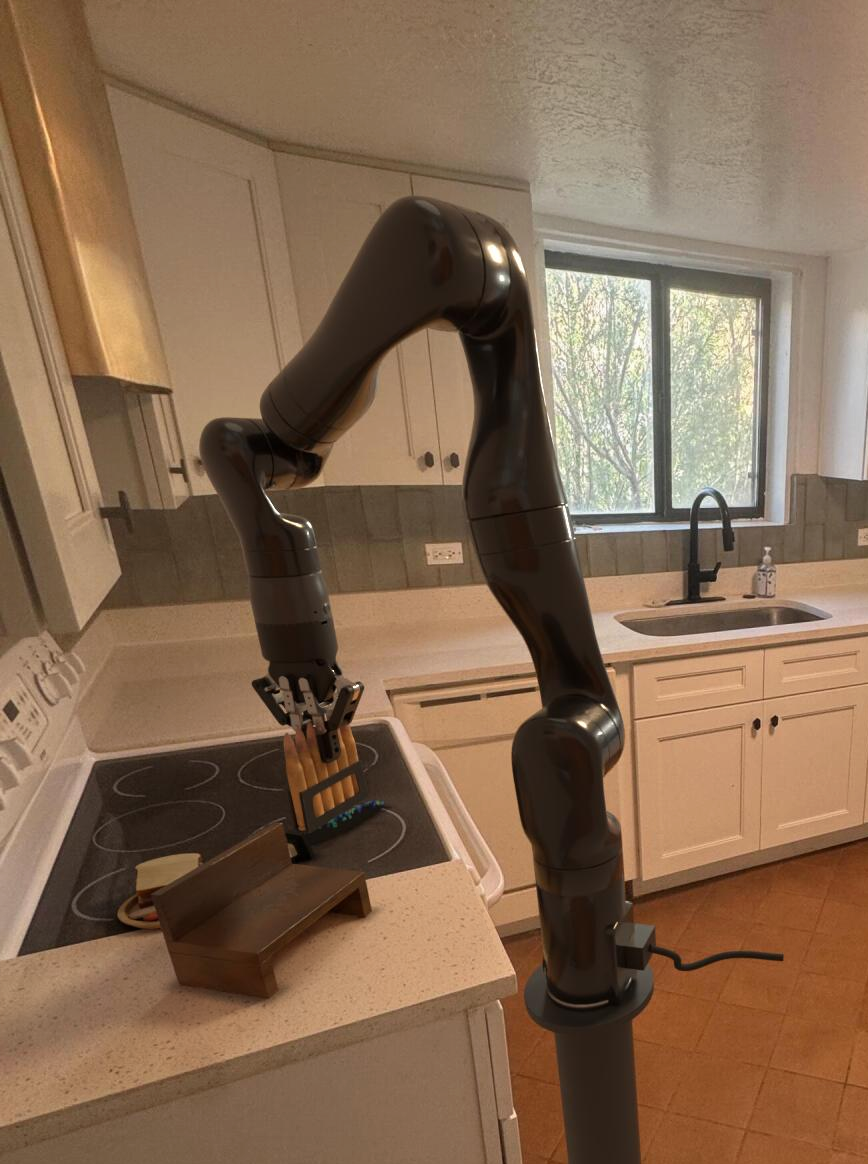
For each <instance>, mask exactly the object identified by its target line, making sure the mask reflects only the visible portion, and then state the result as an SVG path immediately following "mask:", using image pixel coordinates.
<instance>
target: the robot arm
mask: <svg viewBox="0 0 868 1164" xmlns="http://www.w3.org/2000/svg"><path fill="white" fill-rule="evenodd" d="M533 313H534V312H533V306H532V298H531V291H530V286H529V280H528V275H527V271H526V267H525V264H524V260H523V257H522V254H521V252H520V249H519V246H518V245H517V243H516V241H515V239H514V238H513V236H512V235H511V233H510V232H509V231H508V230H507V228H506V227H505V226H504V225H503V224H502V223H501V222H499V221H497V220H496V219H495V218H493V217H492V216H489V215H487V214H484V213H481V212H479V211H477V210H473V209H470V208H467V207H464V206H461V205H458V204H455V203H451V202H448V201H444V200H441V199H438V198H435V197H430V196H423V195H414V194H412V195H406V196H402V197H399V198H398V199H396V200H395V201H393V202H392V203H391V204H390V205H388V207H386V208H385V209H384V211H383V212H382V213H381V215H380V216H379V217H378V219H377V220H376V221H375V222H374V224H373V226H372V228H371V229H370V231H369V232H368V234H367V236H366V238H365V239H364V241H363V242H362V245H361V247H360V249H359V250H358V252H357V254H356V256H355V258H354V259H353V262H352V264H351V266H350V268H349V270H348V271H347V273H346V275H345V277H344V278H343V280H342V282H341V283H340V285H339V287H338V289H337V291H336V293H335V294H334V297H333V298H332V300H331V302H330V304H329V306H328V308H327V309H326V311H325V314H324V315H323V317H322V319H321V321H320V322H319V324H318V326H317V327H316V328H315V330H314V331H313V333H312V335H311V336H310V337H309V338H308V340H307V341H306V343H305V344H304V345H303V346H302V347H301V348H300V349H299V351H298V352H297V353H296V354H295V355H294V356H293V357H292V358H291V359H290V361H288V363H286V364H285V366H284V367H283V368H282V370H280V372H278V374H277V375H276V376H274V378H273V379H272V380H271V381H270V382H269V383H268V384H267V386H266V387H265V389H264V390H263V392H262V394H261V396H260V399H259V412H260V416H261V418H252V417H230V416H228V417H227V416H226V417H216V418H213V419H212V420H209V422H207V423H206V424H205V425H204V427H203V429H202V431H201V433H200V437H199V444H198V449H199V450H198V452H199V458H200V461H201V465H202V467H203V469H204V472H205V474H206V476H207V478H208V480H209V481H210V483H211V485H212V488H213V490H214V491H215V493H216V495H217V496H218V498H219V500H220V501H221V504H222V506H223V508H224V509H225V512H226V514H227V516H228V518H229V520H230V521H231V524H232V526H233V528H234V529H235V532H236V534H237V537H238V538H239V542H240V548H241V551H242V557H243V561H244V566H245V570H246V574H247V581H248V583H247V584H248V596H249V603H250V607H251V611H252V614H253V619H254V625H255V629H256V634H257V639H258V643H259V648H260V651H261V656H262V658H263V659H264V660H266V662H269V664H268V667H267V674H265V675H263V676H262V677H259V678H256V679H253V680H252V681H251V687H252V688H253V690H254V691H255V692H256V694H257V695H258V696H259V698H260V699H261V701H262V702H263V703H264V705H265V706H266V708H267V709H268V710H269V712H270V713H271V714H272V716H273V718H274V719H275V720H276V721H277V723H278V724H279V725H280V726H284V727H285V726H289V727H291V729H292V730H293V731H294V732H295V733H296V729H297V728H298V727H299V728H300V729H301V730H302V732H303V734H304V736H305V738H306V741H307V725H308V723H311V724H312V725H313V727H314V729H315V731H316V733H317V734H316V737H317V742H318V747H319V752H320V757H321V761H322V762H323V763H331V762H333V761H335V760H337V759H338V758H339V755H341V747H340V742H339V737H338V729H339V728H341V727H343V726H345V725H348V724H352V722H353V720H354V717H355V714H356V711H357V709H358V706H359V704H360V701H361V698H362V696H363V694H364V691H365V684H364V683H363V682H361V681H359V680H358V681H355V682H353V681H352V680H350V679H348V678H347V677H345V676H343V670H342V668H341V666H340V665H339V663H338V660H337V654H338V652H339V644H338V639H337V633H336V628H335V623H334V616H333V612H332V611H333V610H332V605H331V600H330V595H329V591H328V587H327V584H326V582H325V579H324V575H323V571H322V566H321V560H320V555H319V550H318V544H317V539H316V535H315V531H314V527H313V525H312V524H311V521H309V520H308V519H307V518H305V517H303V516H300V515H295V514H289V513H283V512H278V510H277V509H276V508H275V507H274V505H273V504H272V502H271V500H270V499H269V496H268V495H267V493H266V492H276V491H277V492H278V491H294V490H295V491H296V490H299V489H300V490H301V489H303V488H305V487H307V486H309V485H311V484H312V483H314V482H315V481H316V480H317V479H319V477H320V476H321V475H322V472H323V471H324V468H325V466H326V464H327V462H328V460H329V457H330V455H331V453H332V449H333V447H334V444H335V443H336V442H337V441H339V439H340V438H341V439H342V437H343V436H345V434H347V433H348V431H350V430H351V429H352V428H353V427H354V426H355V425H356V424H357V423H358V422H359V421H360V420H361V419H362V418H363V417H364V416H365V414H367V412H368V411H369V409H370V408H371V406H372V404H373V402H374V400H375V398H376V395H377V392H378V387H379V381H380V371H381V365H382V363H383V361H384V359H386V357H387V355H388V354H389V353H391V352H392V350H394V349H395V348H396V347H397V346H399V345H400V344H401V343H403V342H405V341H406V340H408V339H409V338H411V337H413V336H414V335H416V334H418V333H420V332H421V331H424V330H427V329H431V330H434V331H438V332H447V333H453V334H454V333H455V334H458V336H459V340H460V343H461V346H462V349H463V353H464V357H465V360H466V364H467V369H468V374H469V377H470V382H471V387H472V393H473V394H472V396H473V421H472V427H471V433H470V437H469V443H468V448H467V452H466V457H465V462H464V467H463V473H462V474H463V475H462V481H461V504H462V509H463V514H464V519H465V521H466V527H467V530H468V534H469V538H470V541H471V545H472V549H473V553H474V555H475V556H474V557H475V560H476V564H477V566H478V569H479V572H480V574H481V576H482V578H483V581H484V583H485V584H486V586H487V588H488V589H489V591H490V593H491V594H492V596H493V598H494V599H495V600H496V602H497V604H498V605H499V606H500V608H501V609H502V611H503V612H504V613H505V615H506V616H507V618H508V619H509V620H510V622H511V623H512V625H513V626H514V627H515V629H516V630H517V631H518V633H519V635H520V636H521V638H522V640H523V641H524V644H525V646H526V648H527V650H528V653H529V655H530V658H531V661H532V665H533V668H534V672H535V676H536V680H537V686H538V690H539V695H540V701H541V703H540V704H541V709H539V710H537V711H536V712H535V713H534V714H531V715H530V716H529V717H528V718H527V719H525V720H524V721H523V722H522V723H521V724H520V725H519V726H518V728H516V731H515V733H514V736H513V739H512V743H511V753H510V754H511V755H510V757H511V758H510V759H511V771H512V778H513V785H514V791H515V797H516V802H517V809H518V816H519V821H520V824H521V827H522V830H523V833H524V835H525V837H526V838H527V840H528V841H529V843H530V846H531V852H532V863H533V870H534V871H533V872H534V879H535V880H534V881H535V890H536V898H537V908H538V917H539V925H540V934H541V942H542V943H541V944H542V953H543V956H542V964H543V972H544V968H545V970H546V973H545V974H546V979H547V980H546V988H547V994H548V996H549V998H550V1000H551V1001H552V1002H553V1003H555V1004H556V1005H558V1006H559V1007H562V1008H564V1009H568V1010H573V1011H590V1010H596V1009H600V1008H603V1007H606V1006H619V1005H620V1004H621V1002H622V1000H623V998H624V996H625V995H626V993H627V991H628V990H629V988H630V986H631V983H632V982H633V980H634V978H635V976H636V974H637V970H642V971H644V970H645V968H646V966H647V964H649V962H650V960H651V959H652V956H653V954H655V955H659V956H663V957H666V958H669V959H671V960H672V961H673V966H674V969H676V970H677V971H679V972H693V971H695V970H699V969H701V968H705V967H706V966H708V965H711V964H714V963H718V962H721V961H723V960H730V959H752V960H762V961H763V960H764V961H773V962H784V953H774V952H765V951H757V950H756V951H754V950H729V951H724V952H719V953H715V954H713V955H710V956H707V957H705V958H702V959H699V960H697V961H693V962H689V963H688V962H687V963H683V962H682V958H681V956H680V954H679V953H677V952H676V951H674V950H672V949H668V948H665V947H661V946H659V945H658V946H657V940H656V939H657V936H656V925H651V924H643V923H635V915H634V903H633V902H632V901H629V900H627V896H626V895H627V894H626V881H625V880H626V879H625V863H624V850H623V848H624V847H623V831H622V825H621V821H620V820H619V818H618V817H617V816H616V815H615V814H613V813H612V812H610V811H608V810H607V805H606V795H605V786H604V783H605V782H604V778H605V777H607V775H608V774H609V773H610V772H611V771H613V769H614V768H615V767H616V765H617V764H618V763H619V762H620V760H621V758H622V755H623V753H624V749H625V745H626V728H625V724H624V719H623V716H622V713H621V709H620V706H619V703H618V700H617V698H616V695H615V691H614V688H613V686H612V683H611V679H610V677H609V674H608V671H607V667H606V665H605V662H604V659H603V656H602V652H601V650H600V645H599V643H598V638H597V634H596V630H595V625H594V621H593V615H592V610H591V606H590V605H591V604H590V601H589V596H588V591H587V587H586V583H585V579H584V575H583V574H584V573H583V570H582V565H581V561H580V555H579V549H578V543H577V538H576V534H575V530H574V525H573V520H572V516H571V513H570V508H569V504H568V499H567V494H566V491H565V487H564V484H563V480H562V476H561V472H560V468H559V462H558V457H557V454H556V448H555V444H554V439H553V438H554V437H553V433H552V429H551V424H550V419H549V418H550V417H549V414H548V410H547V403H546V399H545V394H544V389H543V388H544V387H543V383H542V376H541V369H540V367H541V366H540V360H539V352H538V345H537V336H536V328H535V322H534V321H535V320H534V314H533ZM281 706H282V707H281ZM283 709H284V710H285V711H284V710H283ZM307 744H308V743H307Z"/></svg>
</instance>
